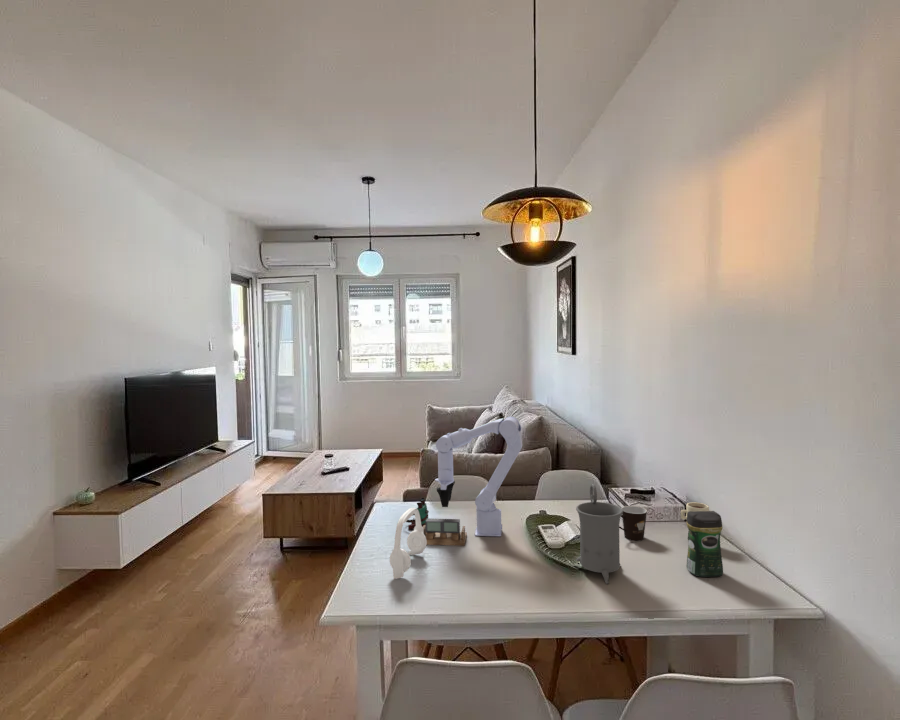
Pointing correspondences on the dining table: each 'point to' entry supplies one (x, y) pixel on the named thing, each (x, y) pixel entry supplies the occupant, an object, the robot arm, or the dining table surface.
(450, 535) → the stand
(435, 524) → the grey rectangular box
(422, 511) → the binoculars
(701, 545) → the coffee jar
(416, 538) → the headset
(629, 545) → the dining table surface
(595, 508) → the gray footed pot
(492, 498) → the robot arm
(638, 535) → the coffee mug
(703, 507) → the character mug
